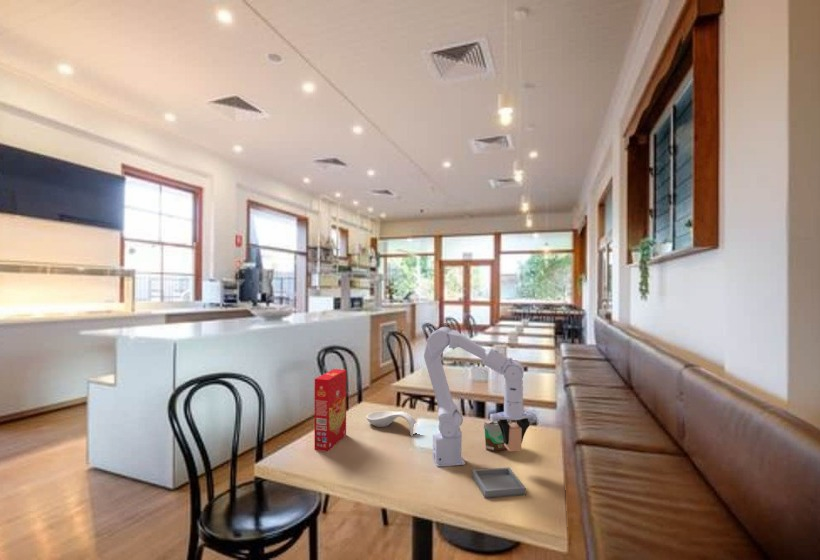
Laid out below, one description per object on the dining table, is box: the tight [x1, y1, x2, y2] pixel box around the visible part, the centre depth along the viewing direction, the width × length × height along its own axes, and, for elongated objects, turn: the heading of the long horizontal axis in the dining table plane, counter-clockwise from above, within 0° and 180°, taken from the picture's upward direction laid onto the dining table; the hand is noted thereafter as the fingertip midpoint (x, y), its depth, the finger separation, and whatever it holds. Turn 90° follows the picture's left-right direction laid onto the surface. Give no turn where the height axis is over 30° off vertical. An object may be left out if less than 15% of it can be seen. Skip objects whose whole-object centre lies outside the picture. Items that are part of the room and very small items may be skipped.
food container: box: [483, 420, 513, 453], centre depth 143 cm, size 12×6×10 cm, turn 129°
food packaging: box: [314, 368, 347, 452], centre depth 148 cm, size 15×5×25 cm, turn 164°
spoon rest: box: [365, 410, 417, 437], centre depth 163 cm, size 24×12×7 cm, turn 54°
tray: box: [471, 466, 527, 499], centre depth 119 cm, size 12×12×2 cm
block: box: [504, 422, 523, 452], centre depth 128 cm, size 4×4×7 cm
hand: (512, 442), depth 128 cm, fingers closed on block, 4 cm apart
